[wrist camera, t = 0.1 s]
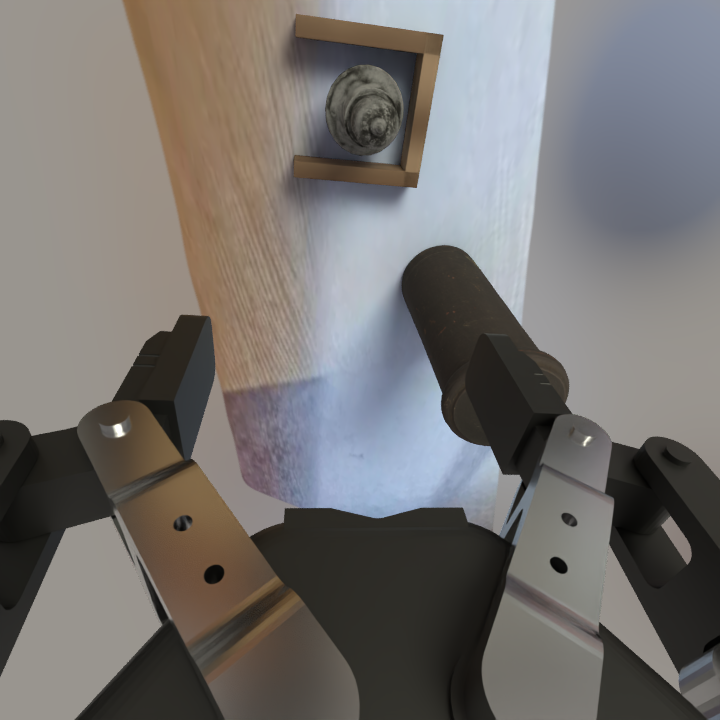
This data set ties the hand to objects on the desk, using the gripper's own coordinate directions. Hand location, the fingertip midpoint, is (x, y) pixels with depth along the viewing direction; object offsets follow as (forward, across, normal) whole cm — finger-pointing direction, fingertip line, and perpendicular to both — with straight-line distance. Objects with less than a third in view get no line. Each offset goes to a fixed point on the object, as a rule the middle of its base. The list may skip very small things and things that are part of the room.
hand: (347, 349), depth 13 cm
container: (+29, -13, +11) cm, 34 cm away
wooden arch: (+29, -2, -4) cm, 29 cm away
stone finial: (+29, -2, -4) cm, 30 cm away
